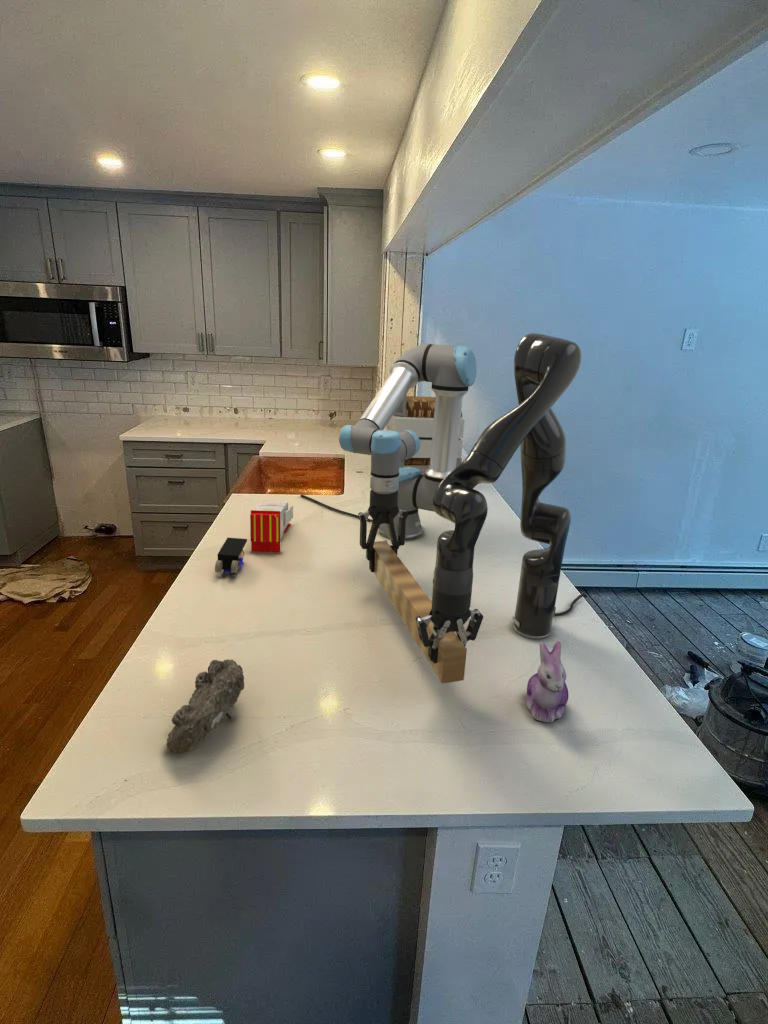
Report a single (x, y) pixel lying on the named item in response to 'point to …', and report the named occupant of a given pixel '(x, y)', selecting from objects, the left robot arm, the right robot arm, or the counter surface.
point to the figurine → (548, 686)
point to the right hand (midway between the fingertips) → (446, 658)
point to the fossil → (206, 705)
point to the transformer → (420, 427)
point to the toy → (269, 525)
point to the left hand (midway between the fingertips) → (381, 569)
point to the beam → (417, 612)
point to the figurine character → (230, 556)
